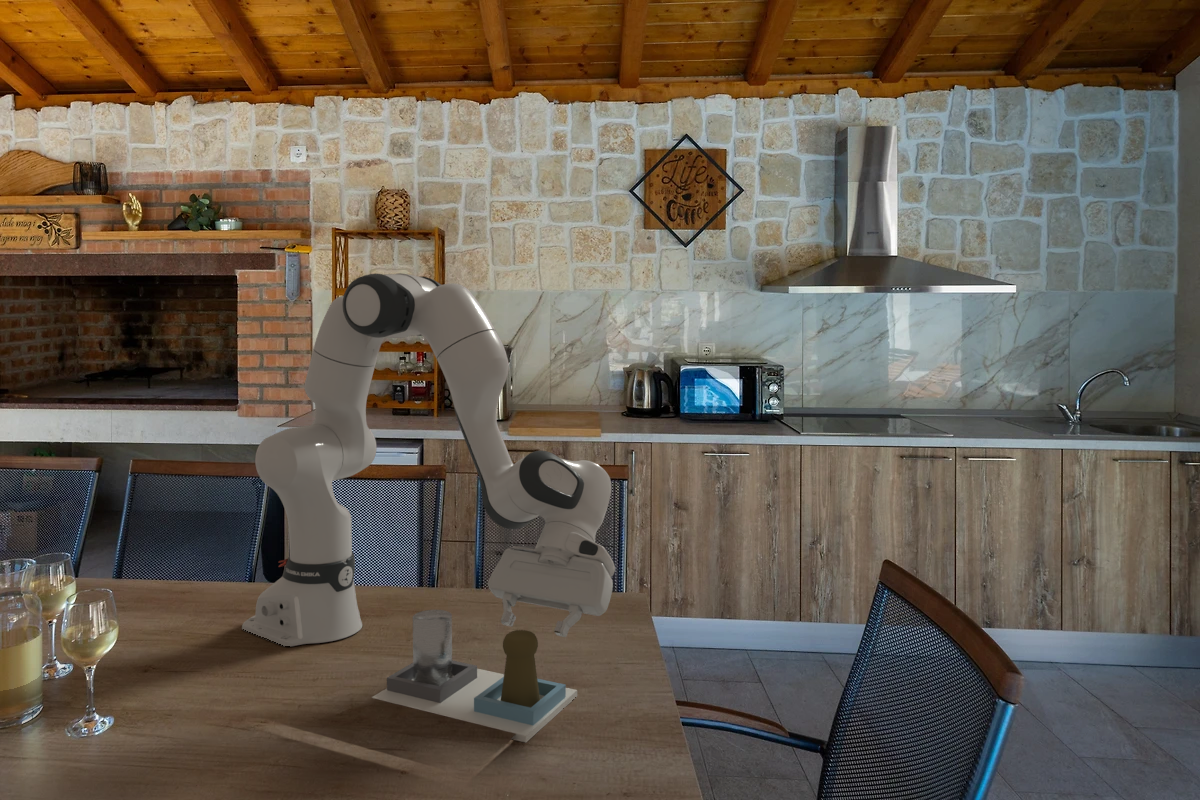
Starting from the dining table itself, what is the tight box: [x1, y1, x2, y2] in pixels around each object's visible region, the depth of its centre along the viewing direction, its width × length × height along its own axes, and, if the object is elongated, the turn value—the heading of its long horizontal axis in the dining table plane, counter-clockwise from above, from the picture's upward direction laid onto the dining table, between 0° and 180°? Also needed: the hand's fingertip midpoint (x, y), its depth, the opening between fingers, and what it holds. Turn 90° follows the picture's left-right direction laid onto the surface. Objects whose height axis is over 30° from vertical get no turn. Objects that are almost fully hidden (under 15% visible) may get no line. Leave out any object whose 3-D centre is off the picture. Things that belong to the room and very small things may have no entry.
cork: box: [501, 629, 540, 708], centre depth 124 cm, size 6×6×11 cm
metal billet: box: [412, 609, 453, 686], centre depth 130 cm, size 6×6×11 cm
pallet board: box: [371, 659, 578, 743], centre depth 127 cm, size 27×16×3 cm, turn 65°
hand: (532, 629), depth 127 cm, fingers open, 8 cm apart
